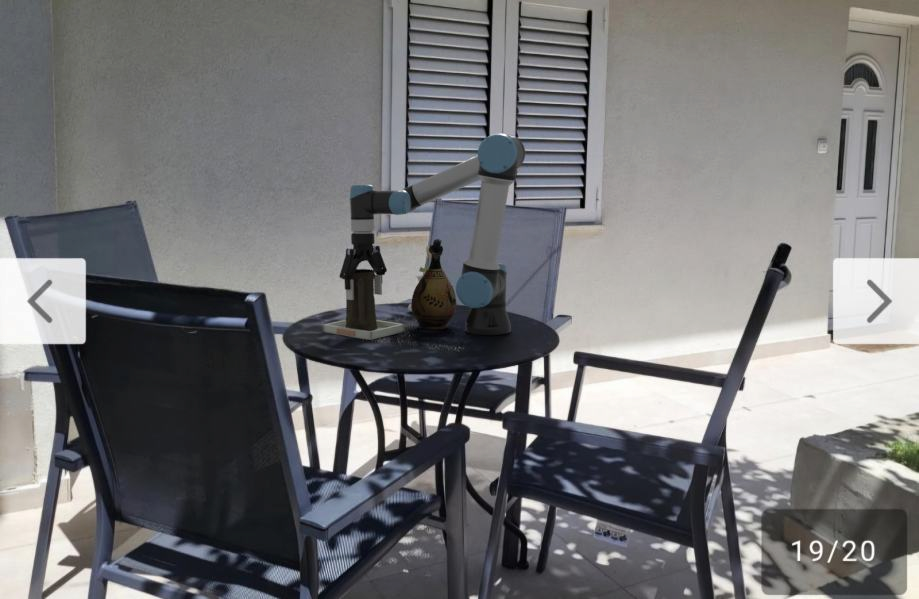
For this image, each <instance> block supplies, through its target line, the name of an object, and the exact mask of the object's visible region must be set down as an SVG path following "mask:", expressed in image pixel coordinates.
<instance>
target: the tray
mask: <svg viewBox="0 0 919 599" xmlns="http://www.w3.org/2000/svg"><path fill="white" fill-rule="evenodd" d="M376 322H377V326H378V328H377V329H376V330H373V331H365V330H358V329H352V328H346V327H345V326H346V319H344V320H338V321H333V322H329V323H325V324H324V323H323V324H322V332H323V333H326V334H331V335H332V334H333V335H339V336H344V337H349V338H350V337H351V338H357V339H362V340H369V341H372V340H376V339H380V338H384V337H388V336H392V335H396V334H401V333H405V332H406V324H405V323H400V322H392V321H385V320H379V319H377V320H376Z"/></svg>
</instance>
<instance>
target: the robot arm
mask: <svg viewBox="0 0 919 599" xmlns="http://www.w3.org/2000/svg"><path fill="white" fill-rule="evenodd" d="M525 157H526V148H525V145H524V144H523V142H522V141H521V139H519V138H518V137H517V136H515V135H511V134H506V133H493V134H490V135H489V136H487V137H485V138H484V139H483V140H482V142H480V144H479V146H478V149H477V155H476V156H473V157H471V158H469V159H467V160H464V161H462V162H460V163H458V164H456V165H454V166H451V167H449V168H447V169H444V170H442V171H440V172H438V173H436V174H433V175H432V176H429V177H427V178H425V179H423V180H420V181H418V182H417V183H414V184H412V185H409V186H407V187H404V188H403V189H398V190H397V189H396V190H395V189H394V190H375V189H374V186H373V185H372V184H352V185H351V186H350V190H349V191H350V192H349V195H350V196H349V202H350V203H349V205H350V208H349V209H350V227H351V228H350V231H351V232H352V233H351V234H350V236H351V237H350V239H351V240H350V242H351V244H352V246H353V248H346V249H345V256H344V259H343V263H342V266H341V270H340V273H339V275H338V276H339V278H340V279H341V280H344V290H345V300H346V299H347V300H354V285H353V280H351V279H352V277H353V275H354V273H355V271H356V269H358V267H359V265H360V264H361V263H362V262H365V261H366V262H367V263H368V264H369V266H370V268H371V270H374V272H375V278H374V295H379V296H380V295H383V276H385V275H386V273H387V272H388V271H387V270H388V269H387V267H386V264H385V261H384V259H383V255H382V253H381V247H380V245H374V244H375V232H374V231H375V215H395V216H400V215H407V214H408V213H411V212H413V211H415V210H416V209H417V208H420V207H422V206H424V205H425V204H428V203H430V202H433V201H435V200H437V199H440V198H442V197H444V196H446V195H449V194H451V193H453V192H456V191H458V190H460V189H463V188H465V187H467V186H469V185H471V184H474V183H477V182H479V181H481V183H480V191H479V196H478V203H477V207H476V212H475V213H476V214H475V220H474V226H473V233H472V238H471V244H470V245H471V246H470V250H469V255H468V258H466V259H465V260H464V261H463V263H462V269H461V273H460V274H461V275H460V276H459V278H458V280H457V282H456V284H455V295H456V297H457V298H458V300H459V302H460V303H462V304H463V305H464V306H466V307H468V308H470V309H469V312H468V315H467V318H466V322H465V325H464V326H465V332H466V333H468V334H473V335H479V336H499V335H505V334H510V333H511V330H512V328H511V327H512V326H511V322H510V318H509V314H508V311H507V306H506V305H507V302H506V301H507V266H506V264H505V263H501V262H499V263H498V262H497V259H498V258H497V257H498V253H499V247H500V241H501V235H502V229H503V223H504V218H505V212H506V206H507V199H508V194H509V189H510V188H509V187H510V186H511V185H512V184H514V183H515V182H516V179H517V178H516V176H517V170H518V169H519V168H520V167H521V165H522V164H523V163H524V161H525Z"/></svg>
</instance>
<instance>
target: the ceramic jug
mask: <svg viewBox="0 0 919 599" xmlns="http://www.w3.org/2000/svg"><path fill="white" fill-rule="evenodd" d="M429 246H430V247H429ZM429 246H428V247H429V252H430V253H431V254H432V257H431V260H430V264H429V265H428V266H429V269H428V270H426V271H425V272H424V275H423V274H422V275H423V277H422V278H421V280H420V281H419V280H418V283H417V284H416V286H415V288H414V290H413V293H412V297H411V303H410V304H411V309H412V311H411V312H412V315H413V317H414V319H415V320H416V321H417V323H418V329H423V330H427V331H428V330H429V331H433V330H444V329H446V327H447V325H448V323H449V322H450V321H451V320H452V319H453V317H454V315H455V313H456V310H457V295H456V291H455V289H454V286H453V285H452V283H451V281H450V280H449V278H448V276H447V275H446V273H445V271H444V270H443V267H442V264H441V256H442V255H443V251H444V247H443V245H442V239H440V238H437V239H434V240H433V243H432V244H431V245H429Z"/></svg>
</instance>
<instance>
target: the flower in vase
mask: <svg viewBox="0 0 919 599" xmlns="http://www.w3.org/2000/svg"><path fill="white" fill-rule="evenodd" d="M429 247H430V245H426V247H425V250H426V255H427V256H428V257H427V258H426V262H425V265H424V268H423V267H422V266H420V268H419V270H418V272H420V273H422V274H420V275H419V274H418V275H415V276H416V278H417V280H418V282H419V281H420V280H421V278H422V277H423V275H424V274H425V272H426V271H427V270H428V269H429V266H430V265H427V262H429V261H431V257H432V254H431V253H430V252H429ZM407 309H408V311H409V312H412V309H411V303H409V305H408V307H407Z"/></svg>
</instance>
